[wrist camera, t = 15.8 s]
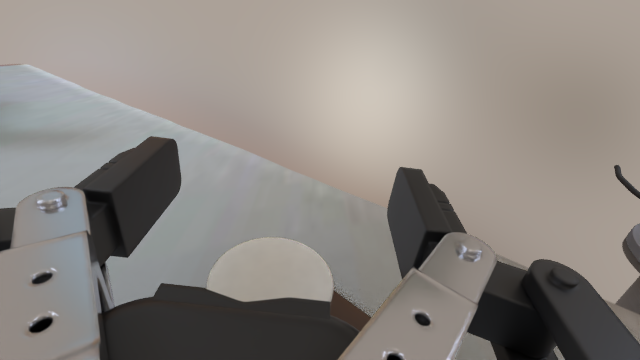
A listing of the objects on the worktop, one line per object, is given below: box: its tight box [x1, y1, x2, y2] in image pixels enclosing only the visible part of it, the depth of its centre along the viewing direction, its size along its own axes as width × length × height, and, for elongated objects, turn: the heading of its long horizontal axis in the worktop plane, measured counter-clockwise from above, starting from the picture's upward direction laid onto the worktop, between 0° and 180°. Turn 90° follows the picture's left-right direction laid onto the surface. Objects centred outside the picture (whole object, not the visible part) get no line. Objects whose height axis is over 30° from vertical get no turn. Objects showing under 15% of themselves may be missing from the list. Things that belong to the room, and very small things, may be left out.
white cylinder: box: [206, 237, 334, 306], centre depth 14 cm, size 4×4×10 cm
